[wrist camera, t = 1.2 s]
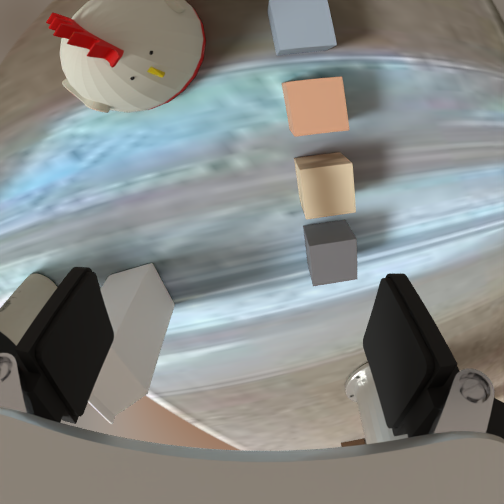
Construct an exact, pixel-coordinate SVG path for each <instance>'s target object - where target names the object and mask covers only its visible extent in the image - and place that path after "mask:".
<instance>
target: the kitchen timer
mask: <svg viewBox="0 0 504 504" xmlns="http://www.w3.org/2000/svg"><path fill="white" fill-rule="evenodd" d="M46 23H48V24H51V25H50V26H49V29H52V30H55V33H54V34H53V35H54V36H57V37H61V38H62V40H61V47H60V58H61V64H62V69H63V71H64V73H65V75H66V79H65V80H64V81H63V82H62V84H63V85H64V87H65V88H66V89H67V90H68V91H70V92H71V93H72V94H73V95H75V96H76V97H77V98H78V99H80V100H81V101H82V102H83V103H84V104H85V105H86V106H87V107H89V108H91V109H93V110H96V111H101V112H106V113H108V112H109V110H115V111H121V112H136V111H144V110H150V109H153V108H155V107H158V106H160V105H163V104H165V103H168V102H169V101H171V100H172V99H173V98H175V97H176V96H177V95H179V94H180V93H181V92H183V91H184V90H185V89H186V87H187V86H188V85H189V84H190V83H191V81H192V80H193V79H194V78H195V76H196V75H197V72H198V70H199V68H200V66H201V63H202V61H203V59H204V52H205V44H206V39H205V33H204V27H203V23H202V22H201V20H200V18H199V16H198V15H197V13H196V11H195V10H194V8H193V7H192V6H191V5H190V4H188V3H187V2H186V1H185V0H90V1H88V2H87V3H86V4H85V5H84V6H83V7H82V8H81V9H80V10H78V11H77V12H76V13H75V14H74V16H73V17H72V19H71V18H68V17H65V16H62V15H59V14H56V13H52V14H51V16H50V17H49V19H48V20H47V22H46Z"/></svg>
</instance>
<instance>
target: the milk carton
mask: <svg viewBox="0 0 504 504" xmlns="http://www.w3.org/2000/svg"><path fill="white" fill-rule="evenodd" d="M100 290H101V294H102V297H103V300H104V303H105V307H106V310H107V313H108V316H109V319H110V322H111V325H112V328H113V331H114V340H113V343H112V345H111V347H110V350H109V352H108V354H107V357H106V359H105V361H104V364H103V366H102V368H101V371H100V373H99V375H98V378H97V380H96V383H95V385H94V388H93V390H92V393H91V395H90V398H89V400H88V403H89V404H90V405H92V407H94V408H95V409H96V410H97V411H98V412H99V413H100V414H101V415H102V416H103V417H104V418H105V419H106V420H107V421H108V422H109V423H110V424H113V421H114V419H115V416H116V415H117V414H119V413H121V412H122V411H124V410H125V409H126V408H128V407H129V406H131V405H132V404H134V403H135V402H136V401H138V400H139V399H141V398H142V397H143V396H145V395H146V394H148V390H149V387H150V383H151V380H152V377H153V373H154V370H155V367H156V363H157V360H158V357H159V353H160V350H161V347H162V344H163V341H164V337H165V334H166V331H167V328H168V325H169V322H170V319H171V316H172V313H173V309H174V306H175V304H174V302H173V300H172V298H171V297H170V295H169V293H168V291H167V289H166V287H165V286H164V284H163V282H162V280H161V278H160V276H159V274H158V272H157V270H156V269H155V267H154V265H153V263H150V264H146V265H143V266H139V267H136V268H133V269H129V270H126V271H122V272H119V273H115V274H112V275H109V276H108V278H107V279H106V281H105V283H104V284H103V286H102V287H101V289H100Z"/></svg>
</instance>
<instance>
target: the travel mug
mask: <svg viewBox="0 0 504 504" xmlns="http://www.w3.org/2000/svg"><path fill="white" fill-rule="evenodd" d="M57 288H58V287H57V286H56V285H55V284H54V283H53V282H52V281H51V280H50V279H49V278H47V277H45V276H43V275H41V274H31V275H29V276H28V277H27V278H26V279H25V280H24V282H23V283H22V284H21V285H20V286H19V287H18V288H17V289H16V291H15V292H14V293H13V294H12V295H11V296H10V298H9V299H8V300H7V301H6V302H5V303H4V305H3V306H2V307H1V308H0V353H8V354H11V355H12V356H13V357H14V358H15V357H16V355H17V352H16V351H15V347H16V346H17V344H18V343H19V341H20V340H21V338H22V337H23V335H24V334H25V332H26V331H27V329H28V328H29V326H30V325H31V323H32V322H33V321H34V319H35V318H36V316H37V315H38V313H39V312H40V311H41V309H42V308H43V306H44V305H45V304H46V302H47V301H48V300H49V298H50V297H51V296H52V294H53V293H54V292H55V290H56V289H57Z"/></svg>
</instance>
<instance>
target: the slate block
mask: <svg viewBox="0 0 504 504" xmlns="http://www.w3.org/2000/svg"><path fill="white" fill-rule="evenodd" d="M268 16H269V21H270V26H271V30H272V35H273V40H274V45H275V50H276V55H277V56H280V55H288V54H296V53H306V52H317V51H326V50H328V49H330V48H332V47H334V46H336V45H337V43H336V38H335V33H334V28H333V23H332V19H331V14H330V10H329V5H328V1H327V0H269V5H268Z"/></svg>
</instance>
